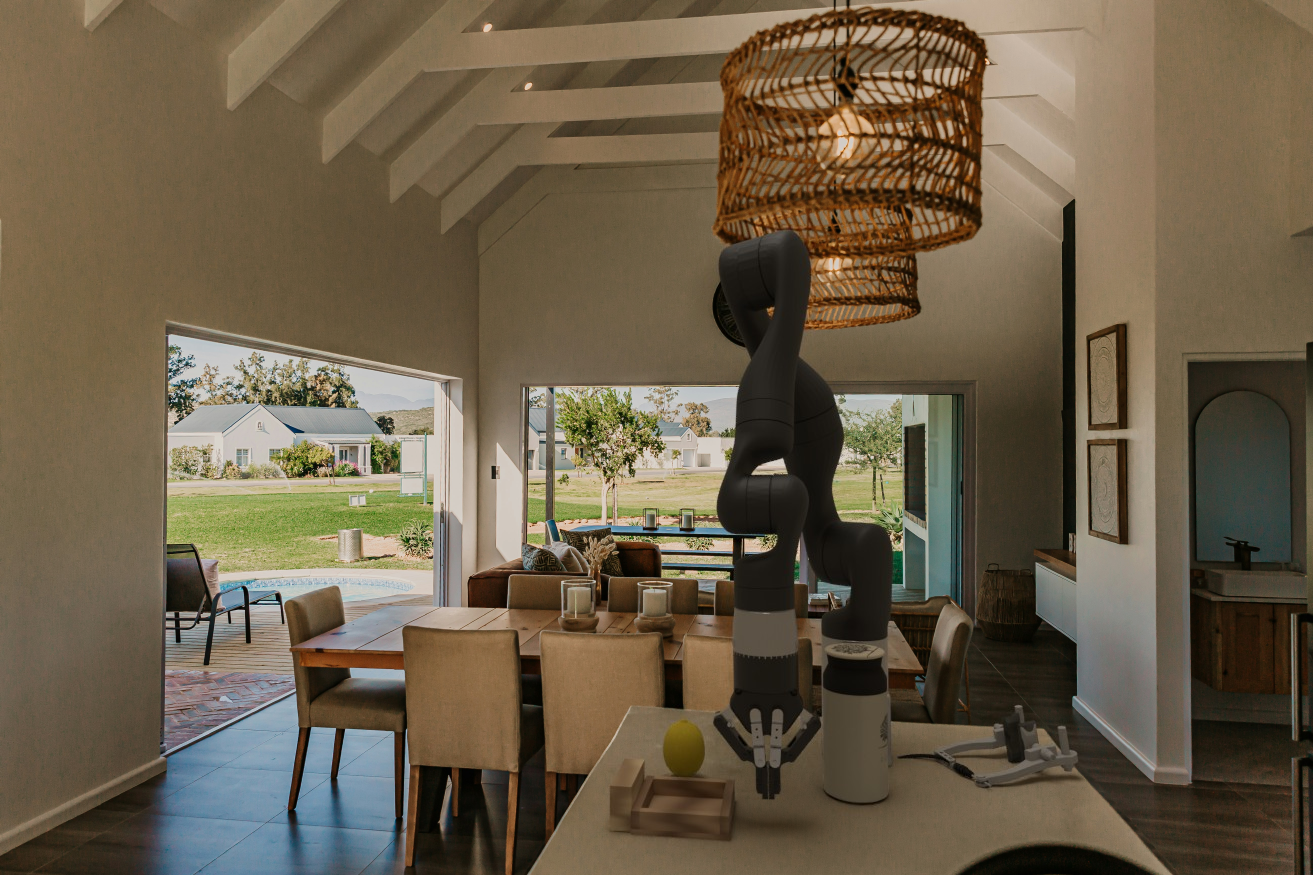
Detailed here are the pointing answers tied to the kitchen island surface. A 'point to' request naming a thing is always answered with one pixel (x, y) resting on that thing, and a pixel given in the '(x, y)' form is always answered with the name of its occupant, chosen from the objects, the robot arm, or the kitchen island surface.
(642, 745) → the kitchen island surface
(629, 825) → the oak stop
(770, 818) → the kitchen island surface
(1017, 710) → the bike brake
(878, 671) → the travel mug
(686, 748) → the lemon
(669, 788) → the walnut tray
